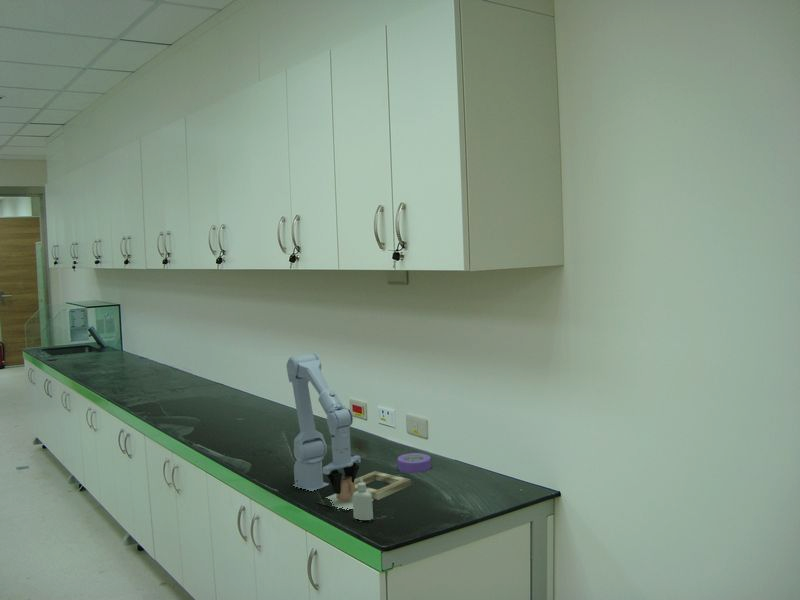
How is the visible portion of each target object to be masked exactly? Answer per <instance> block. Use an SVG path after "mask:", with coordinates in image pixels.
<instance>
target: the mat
mask: <svg viewBox="0 0 800 600" xmlns="http://www.w3.org/2000/svg"><path fill="white" fill-rule="evenodd" d="M352 496H353V495H352ZM325 498H328V499H330V500H332V501H330V502H331V503H332V502H333V503H332V506H335V507H338V508H337V509H339V508H342V507H343V508H342V509H345V510H346V509H347V508H348V509H347V510H349V509H353V497H352V498H350V499H346V500H339V499H337V498H336V493H333V494H331V495H329V496H326V497H325ZM373 501H375V499H373V498H372V502H373ZM333 504H334V505H333Z"/></svg>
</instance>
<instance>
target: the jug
mask: <svg viewBox="0 0 800 600" xmlns="http://www.w3.org/2000/svg"><path fill="white" fill-rule="evenodd" d="M354 492H355V483H353V482H352V477H351V476H348V475H345V474H344V475H343V474H342V477H341V492H340V494H336V493H335V494H336V498H337V499H339V500H346V499H350V498H352V497H353V496H352V495H353V493H354Z"/></svg>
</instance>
